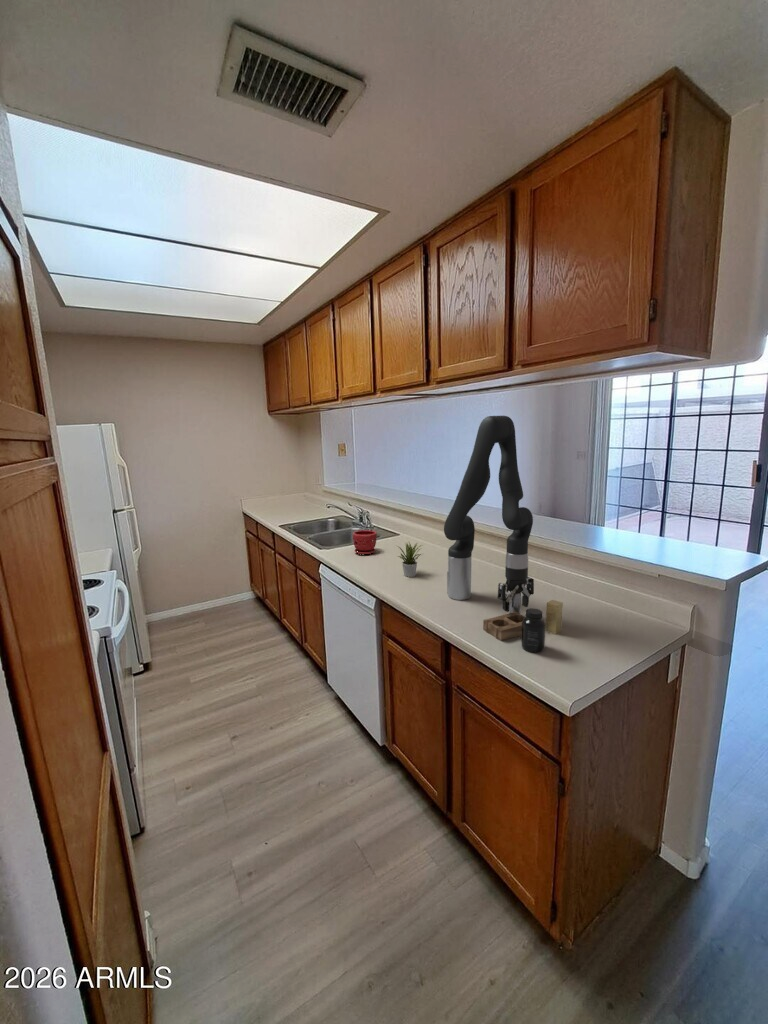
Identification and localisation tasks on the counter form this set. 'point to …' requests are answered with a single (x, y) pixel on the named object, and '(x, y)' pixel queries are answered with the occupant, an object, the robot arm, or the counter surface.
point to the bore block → (504, 626)
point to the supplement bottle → (533, 631)
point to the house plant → (410, 560)
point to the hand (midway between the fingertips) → (515, 608)
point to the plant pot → (362, 545)
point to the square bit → (554, 616)
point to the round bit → (515, 603)
